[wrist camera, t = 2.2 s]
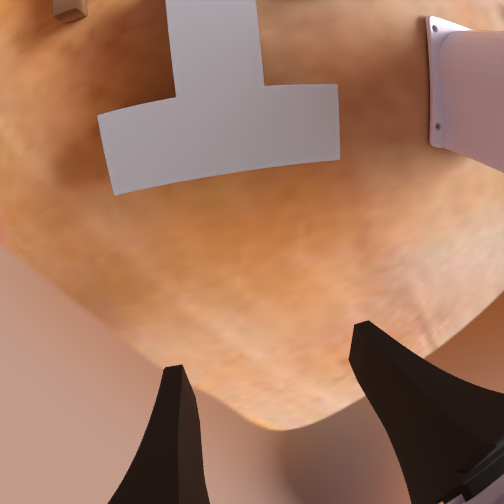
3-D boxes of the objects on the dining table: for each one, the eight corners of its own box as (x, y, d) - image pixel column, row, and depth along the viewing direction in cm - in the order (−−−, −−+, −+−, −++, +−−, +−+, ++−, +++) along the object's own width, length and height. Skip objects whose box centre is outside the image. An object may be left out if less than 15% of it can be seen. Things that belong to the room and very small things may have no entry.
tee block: (308, 144, 17) (340, 159, 14) (128, 172, 16) (114, 195, 12) (293, -21, 12) (322, -45, 9) (104, -1, 11) (83, -24, 7)
